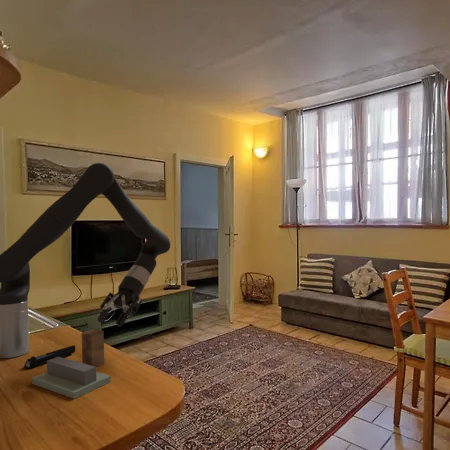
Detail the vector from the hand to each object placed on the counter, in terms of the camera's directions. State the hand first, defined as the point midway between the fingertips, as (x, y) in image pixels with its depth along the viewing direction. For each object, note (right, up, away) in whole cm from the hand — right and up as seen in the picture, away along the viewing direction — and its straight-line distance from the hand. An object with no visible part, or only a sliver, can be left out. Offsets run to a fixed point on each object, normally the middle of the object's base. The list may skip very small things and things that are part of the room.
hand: (108, 323), depth 114 cm
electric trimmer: (-18, -12, 0) cm, 22 cm away
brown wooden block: (-3, -11, -5) cm, 13 cm away
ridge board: (-4, -11, -17) cm, 21 cm away
